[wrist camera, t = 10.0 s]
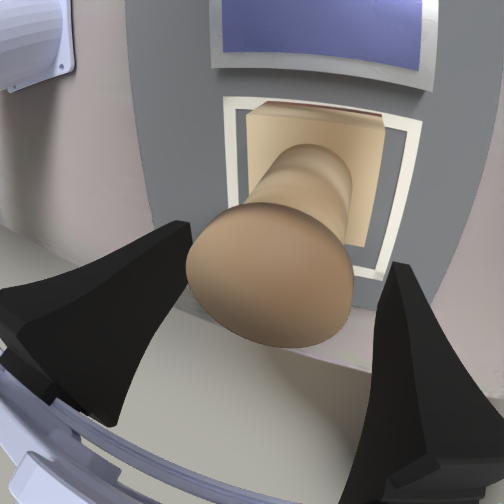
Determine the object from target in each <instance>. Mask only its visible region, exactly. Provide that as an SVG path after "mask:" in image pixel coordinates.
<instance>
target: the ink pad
mask: <svg viewBox="0 0 504 504" xmlns="http://www.w3.org/2000/svg"><path fill="white" fill-rule="evenodd" d="M209 20H210V51H211V68H277V69H295V70H308V71H318V72H328V73H336V74H344V75H351V76H358V77H364V78H370V79H376V80H381V81H386V82H391V83H396V84H401V85H405V86H410V87H414V88H418V89H422V90H426V91H430V92H433V84H434V75H435V65H436V53H437V37H438V0H209Z"/></svg>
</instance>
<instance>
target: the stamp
mask: <svg viewBox="0 0 504 504" xmlns="http://www.w3.org/2000/svg"><path fill="white" fill-rule="evenodd" d="M246 126H247V153H248V180H249V197H248V198H247V199H246V201H245V202H244V203H243V204H240V205H237V206H234V207H231V208H229V209H227V210H225V211H223V212H221V213H220V214H218V215H217V216H216V217H215V218H214V219H213V220H212V221H211V222H210V223H209V224H208V225H207V227H206V228H205V229H204V230H203V232H202V233H201V234H200V236H199V237H198V238H197V239H196V241H195V242H194V244H193V245H192V247H191V248H190V250H189V253H188V255H187V260H186V275H187V280H188V283H189V286H190V288H191V290H192V293H193V294H194V296H195V298H196V299H197V301H198V302H199V304H200V305H201V306H202V308H203V309H204V310H205V311H206V312H207V313H208V314H209V315H210V316H211V317H212V318H213V319H214V320H216V321H217V322H218V323H219V324H221V325H222V326H224V327H225V328H227V329H228V330H230V331H231V332H233V333H235V334H237V335H239V336H241V337H243V338H245V339H248V340H251V341H253V342H256V343H259V344H263V345H267V346H272V347H279V348H302V347H309V346H313V345H316V344H319V343H322V342H324V341H326V340H328V339H330V338H331V337H332V336H334V335H335V334H336V333H337V332H338V331H339V330H340V329H341V328H342V327H343V325H344V324H345V322H346V321H347V318H348V316H349V312H350V307H351V301H352V294H353V286H354V270H353V265H352V262H351V259H350V256H349V254H348V252H347V250H346V249H345V247H344V244H349V245H355V246H360V247H364V245H365V241H366V237H367V232H368V228H369V223H370V218H371V214H372V209H373V204H374V199H375V193H376V188H377V182H378V177H379V171H380V165H381V159H382V152H383V145H384V138H385V127H384V123H383V118H382V114H377V113H372V112H366V111H360V110H353V109H346V108H339V107H332V106H323V105H314V104H305V103H293V102H280V101H267V102H265V103H263V104H262V105H260V106H259V107H257V108H256V109H254V110H253V111H251V112H250V113H248V114H247V115H246Z"/></svg>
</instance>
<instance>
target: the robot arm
mask: <svg viewBox="0 0 504 504" xmlns="http://www.w3.org/2000/svg"><path fill="white" fill-rule="evenodd" d="M74 66H75V63H74V53H73V42H72V27H71V4H70V0H0V91H3V90H5V89H7V91H8V92H9V93H12V92H14V91H17V90H19V89H22V88H25V87H27V86H30V85H33V84H35V83H38V82H41V81H44V80H47V79H50V78H53V77H56V76H59V75H62V74H65V73H69V72H71V71H73V69H74ZM192 245H193V240H192V233H191V226H190V222H185V221H180V220H174V221H172V222H170V223H168V224H165V225H163V226H161V227H159V228H158V229H156V230H154V231H152V232H150V233H148V234H146V235H144V236H143V237H141V238H139V239H137V240H135V241H133V242H132V243H130V244H128V245H126V246H124V247H122V248H120V249H118V250H116V251H114V252H112V253H110V254H108V255H106V256H104V257H102V258H100V259H98V260H96V261H94V262H91V263H89V264H87V265H84V266H82V267H80V268H77V269H74V270H72V271H69V272H66V273H63V274H60V275H57V276H55V277H51V278H48V279H45V280H41V281H37V282H33V283H29V284H25V285H20V286H14V287H9V288H3V289H1V290H0V338H1V339H2V341H3V342H4V343H5V345H6V346H7V349H6V350H5V351H3V350H2V349H1V348H0V445H1V446H2V448H3V449H4V450H5V452H6V453H7V454H8V456H9V457H10V458H11V460H12V461H13V462H14V463H15V465H16V466H17V468H16V470H15V471H14V473H13V475H12V476H11V478H10V480H9V482H8V488H9V490H10V492H11V494H12V495H13V496H14V497H15V499H16V501H15V503H14V504H161V503H159V502H157V501H155V500H153V499H151V498H149V497H147V496H145V495H143V494H141V493H139V492H137V491H135V490H133V489H131V488H129V487H127V486H125V485H124V484H122V483H120V482H118V481H117V479H118V477H119V475H120V474H121V469H120V468H118V467H117V466H115V465H113V464H112V463H110V462H108V461H107V460H105V459H104V458H102V457H101V456H99V455H98V454H96V453H95V452H93V451H92V450H90V449H89V448H87V447H86V446H84V445H83V444H82V443H81V437H80V436H82V437H83V438H85V439H87V440H88V441H89V442H91V443H93V444H94V445H96V446H97V447H99V448H101V449H102V450H104V451H105V452H107V453H109V454H111V455H112V456H114V457H116V458H117V459H119V460H121V461H123V462H125V463H126V464H128V465H130V466H132V467H134V468H136V469H138V470H140V471H141V472H143V473H145V474H147V475H149V476H152V477H153V478H155V479H158V480H160V481H162V482H164V483H166V484H168V485H171V486H173V487H175V488H178V489H180V490H182V491H184V492H187V493H189V494H192V495H194V496H197V497H200V498H202V499H205V500H207V501H210V502H213V503H216V504H300V503H295V502H291V501H286V500H282V499H278V498H273V497H269V496H266V495H262V494H258V493H255V492H251V491H247V490H245V489H241V488H238V487H235V486H232V485H228V484H226V483H223V482H220V481H217V480H214V479H211V478H208V477H206V476H203V475H201V474H198V473H195V472H193V471H191V470H188V469H186V468H183V467H181V466H178V465H176V464H174V463H171V462H169V461H167V460H165V459H163V458H160V457H158V456H156V455H154V454H152V453H150V452H148V451H146V450H144V449H142V448H140V447H138V446H136V445H134V444H132V443H130V442H128V441H126V440H125V439H123V438H121V437H119V436H117V435H115V434H114V433H112V432H110V431H108V430H106V429H105V428H103V427H102V426H100V425H98V424H96V423H95V422H93V421H92V420H90V419H89V418H87V417H85V416H84V415H82V414H81V413H83V414H85V415H86V416H89V417H91V418H93V419H94V420H96V421H98V422H99V423H101V424H103V425H104V426H106V427H114V426H116V425H117V422H118V419H119V415H120V412H121V409H122V406H123V403H124V400H125V397H126V395H127V392H128V389H129V387H130V384H131V382H132V379H133V377H134V375H135V372H136V370H137V368H138V366H139V363H140V361H141V359H142V357H143V355H144V353H145V351H146V349H147V347H148V345H149V343H150V341H151V339H152V337H153V336H154V334H155V332H156V331H157V329H158V327H159V326H160V325H161V323H162V322H163V320H164V318H165V317H166V316H167V314H168V313H169V311H170V310H171V308H172V307H173V305H174V304H175V303H176V301H177V300H178V298H179V297H180V295H181V294H182V292H183V291H184V289H185V287H186V286H187V284H188V280H187V275H186V260H187V255H188V253H189V250H190V248H191V247H192ZM79 412H81V413H79ZM502 479H504V418H503V417H502V416H501V415H500V414H499V413H498V411H497V410H496V409H495V408H494V407H493V405H492V404H491V403H490V402H489V400H488V399H487V398H486V396H485V395H484V394H483V392H482V391H481V390H480V389H479V387H478V386H477V384H476V383H475V381H474V380H473V379H472V377H471V376H470V374H469V373H468V372H467V370H466V369H465V367H464V366H463V364H462V363H461V361H460V359H459V358H458V356H457V354H456V353H455V351H454V350H453V348H452V346H451V345H450V343H449V341H448V340H447V338H446V336H445V334H444V332H443V330H442V329H441V327H440V325H439V323H438V321H437V319H436V317H435V315H434V313H433V311H432V309H431V307H430V305H429V303H428V301H427V299H426V297H425V295H424V293H423V291H422V289H421V287H420V284H419V282H418V280H417V278H416V276H415V274H414V272H413V270H412V268H411V266H410V265H409V264H404V263H400V262H395V261H393V262H392V265H391V268H390V271H389V274H388V276H387V279H386V282H385V285H384V288H383V291H382V293H381V296H380V299H379V301H378V304H377V311H376V318H375V326H374V339H373V361H372V378H371V390H370V397H369V403H368V408H367V412H366V417H365V422H364V426H363V430H362V434H361V438H360V441H359V445H358V449H357V452H356V455H355V459H354V462H353V465H352V468H351V471H350V474H349V477H348V480H347V482H346V485H345V488H344V491H343V493H342V496H341V498H340V501H339V503H338V504H479V500H480V499H483V498H484V497H485V489H486V487H487V486H489V485H491V484H494V483H496V482H498V481H500V480H502ZM500 504H504V503H500Z"/></svg>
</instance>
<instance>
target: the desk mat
mask: <svg viewBox="0 0 504 504" xmlns="http://www.w3.org/2000/svg"><path fill="white" fill-rule="evenodd" d="M125 9H126V30H127V45H128V58H129V69H130V79H131V89H132V97H133V106H134V113H135V121H136V128H137V135H138V142H139V148H140V154H141V160H142V166H143V172H144V178H145V183H146V189H147V194H148V199H149V204H150V209H151V214H152V219H153V223H154V228H155V230H156V229H158V228H159V227H161V226H163V225H165V224H168V223H170V222H172V221H174V220H180V221H185V222H190V226H191V233H192V240H193V244H194V242H195V241H196V239H197V238H198V237H199V236H200V234H201V233H202V232H203V230H204V229H205V228H206V227H207V225H208V224H209V223H210V222H211V221H212V220H213V219H214V218H215V217H216V216H217V215H218V214H220V213H221V212H223V211H225V210H227V209H229V208H231V207H234V206H237V205H240V204H243V203H244V202H245V201H246V199H247V198H248V197H249V180H248V153H247V126H246V115H247V114H248V113H250V112H251V111H253V110H254V109H256V108H257V107H259V106H260V105H262V104H263V103H265V102H267V101H280V102H293V103H305V104H314V105H323V106H332V107H339V108H346V109H353V110H360V111H366V112H372V113H377V114H382V118H383V123H384V127H385V138H384V145H383V152H382V159H381V165H380V171H379V177H378V182H377V188H376V193H375V199H374V204H373V209H372V214H371V218H370V223H369V228H368V232H367V237H366V241H365V245H364V247H360V246H355V245H349V244H344V247H345V249H346V250H347V252H348V254H349V256H350V259H351V262H352V265H353V270H354V286H353V294H352V301H351V306H356V307H361V308H366V309H371V310H376V311H377V304H378V301H379V299H380V296H381V293H382V291H383V288H384V285H385V282H386V279H387V276H388V274H389V271H390V268H391V265H392V262H393V261H395V262H400V263H404V264H409V265H410V266H411V268H412V270H413V272H414V274H415V276H416V278H417V280H418V282H419V284H420V287H421V289H422V291H423V293H424V295H425V297H426V299H427V301H428V303H429V305H431V303H432V301H433V299H434V297H435V295H436V293H437V291H438V288H439V286H440V284H441V282H442V280H443V278H444V276H445V273H446V271H447V269H448V267H449V264H450V262H451V260H452V258H453V255H454V253H455V250H456V248H457V245H458V243H459V240H460V238H461V235H462V233H463V230H464V228H465V225H466V222H467V219H468V217H469V214H470V211H471V208H472V205H473V202H474V199H475V196H476V193H477V190H478V186H479V183H480V180H481V176H482V173H483V169H484V166H485V162H486V158H487V154H488V150H489V146H490V142H491V137H492V133H493V128H494V123H495V118H496V112H497V107H498V101H499V94H500V87H501V79H502V71H503V60H504V0H438V37H437V53H436V65H435V75H434V84H433V92H430V91H426V90H422V89H418V88H414V87H410V86H405V85H401V84H396V83H391V82H386V81H381V80H376V79H370V78H364V77H358V76H351V75H344V74H336V73H328V72H318V71H308V70H295V69H277V68H211V51H210V20H209V0H125Z"/></svg>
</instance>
